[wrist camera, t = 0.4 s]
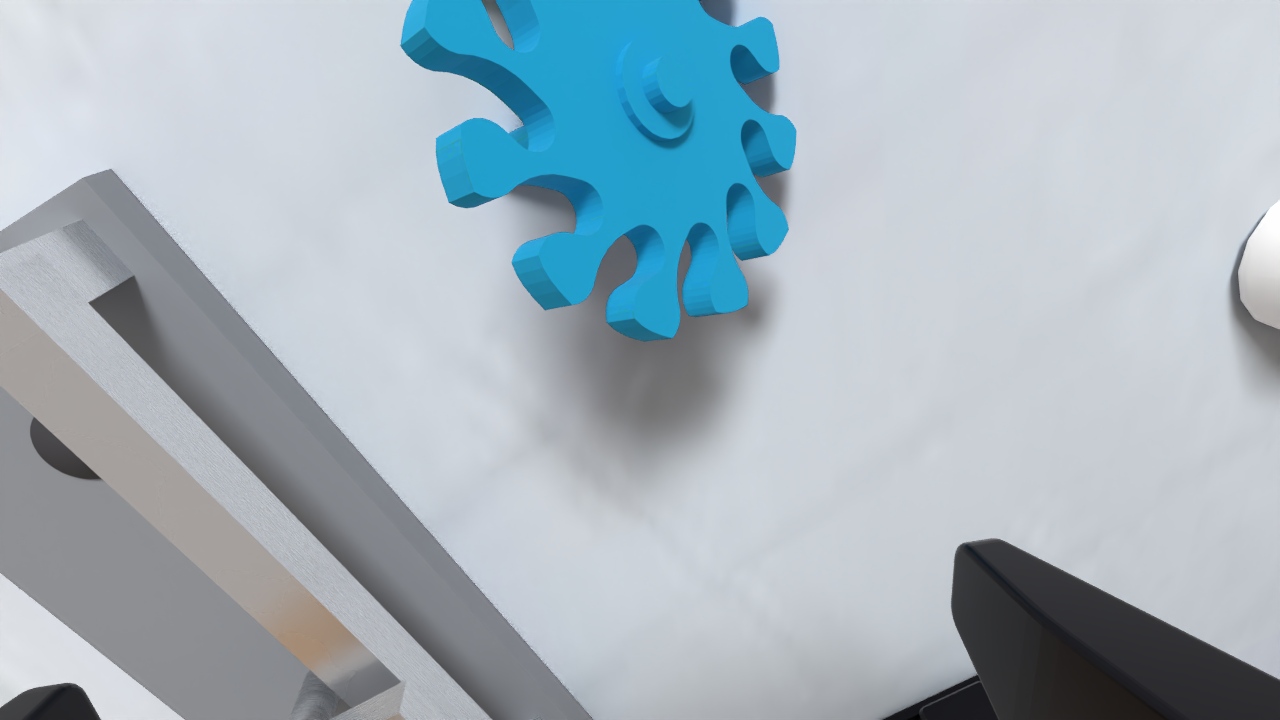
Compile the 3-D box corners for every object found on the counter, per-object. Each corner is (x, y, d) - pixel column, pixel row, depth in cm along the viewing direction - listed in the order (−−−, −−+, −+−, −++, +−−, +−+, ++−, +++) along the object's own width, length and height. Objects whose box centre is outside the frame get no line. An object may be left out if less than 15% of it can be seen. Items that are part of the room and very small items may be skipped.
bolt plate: (629, 761, 29) (632, 792, 28) (413, 865, 30) (407, 899, 29) (110, 168, 18) (80, 178, 17) (-192, 364, 19) (-240, 386, 18)
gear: (859, 227, 19) (611, 433, 13) (690, 262, 23) (440, 431, 17) (708, -252, 16) (281, -289, 10) (544, -110, 20) (172, -72, 14)
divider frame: (583, 736, 26) (589, 863, 22) (441, 806, 27) (422, 941, 23) (106, 204, 17) (-27, 256, 13) (-88, 328, 18) (-269, 413, 14)
